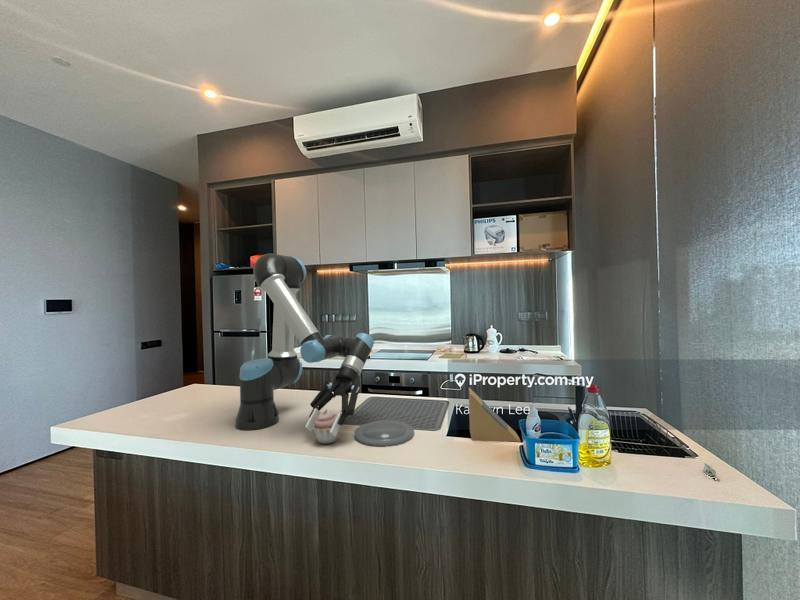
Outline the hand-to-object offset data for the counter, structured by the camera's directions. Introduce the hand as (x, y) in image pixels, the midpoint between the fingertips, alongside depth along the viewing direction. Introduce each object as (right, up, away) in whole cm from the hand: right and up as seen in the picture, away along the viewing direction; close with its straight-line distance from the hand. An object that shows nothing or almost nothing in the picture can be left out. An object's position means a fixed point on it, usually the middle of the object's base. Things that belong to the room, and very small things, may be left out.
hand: (320, 431), depth 106 cm
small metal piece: (+100, -2, -23) cm, 103 cm away
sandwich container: (+56, -3, +4) cm, 56 cm away
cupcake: (+2, -4, +3) cm, 5 cm away
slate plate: (+20, -4, +8) cm, 22 cm away
